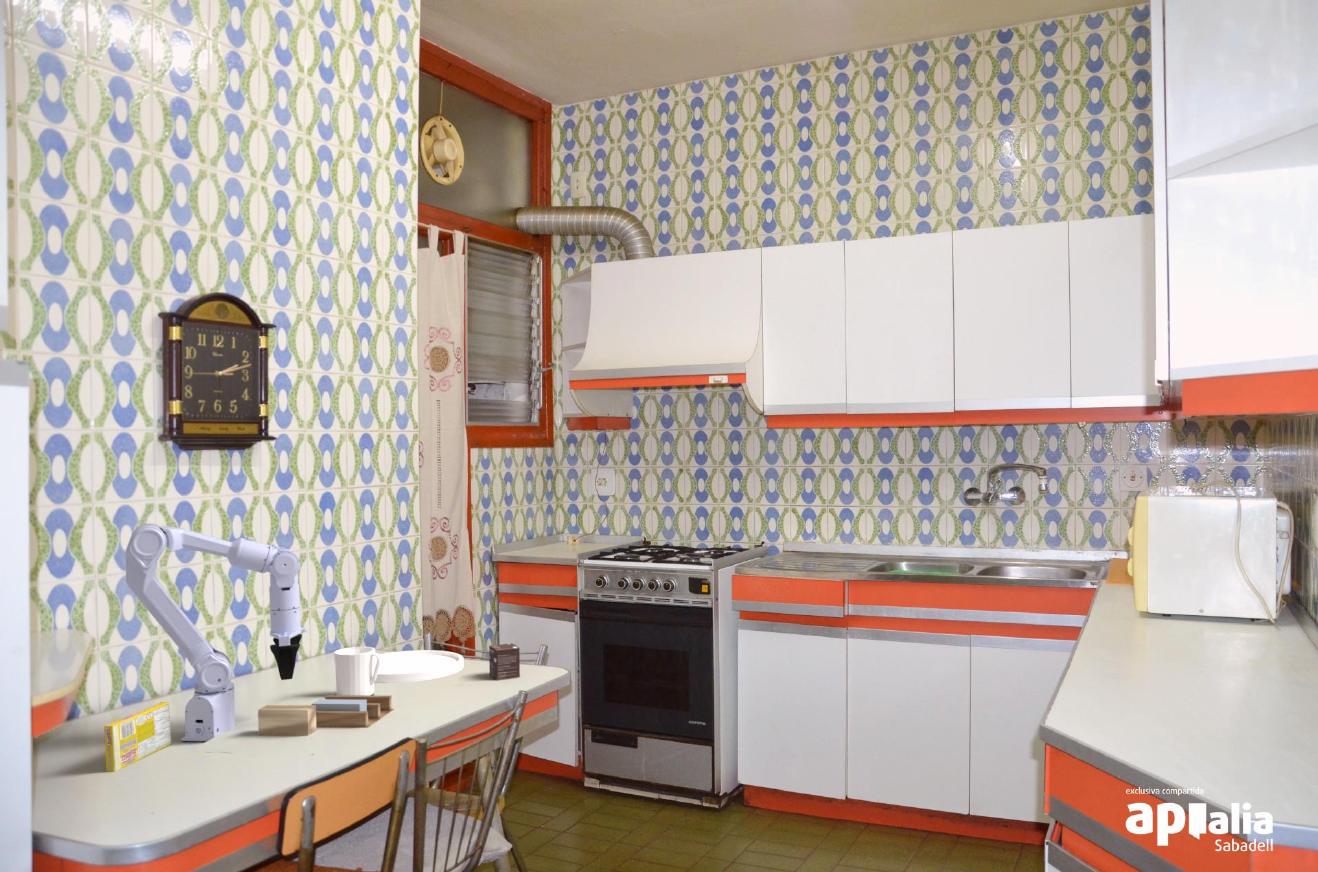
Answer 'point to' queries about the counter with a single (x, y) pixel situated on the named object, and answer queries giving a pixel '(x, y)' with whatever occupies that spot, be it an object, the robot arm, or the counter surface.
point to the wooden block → (287, 720)
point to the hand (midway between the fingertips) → (287, 675)
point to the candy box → (137, 736)
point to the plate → (417, 665)
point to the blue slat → (340, 705)
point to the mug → (356, 670)
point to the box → (504, 661)
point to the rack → (355, 712)
